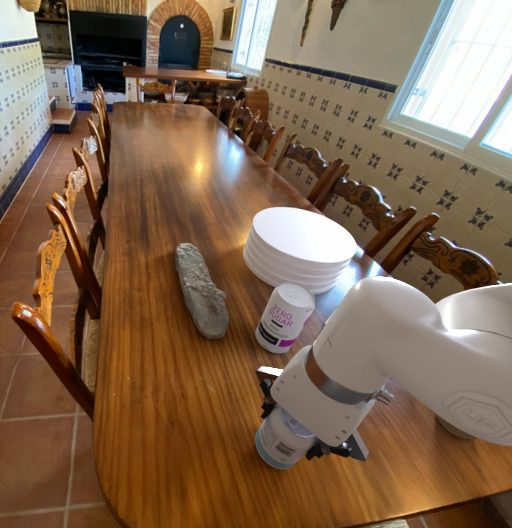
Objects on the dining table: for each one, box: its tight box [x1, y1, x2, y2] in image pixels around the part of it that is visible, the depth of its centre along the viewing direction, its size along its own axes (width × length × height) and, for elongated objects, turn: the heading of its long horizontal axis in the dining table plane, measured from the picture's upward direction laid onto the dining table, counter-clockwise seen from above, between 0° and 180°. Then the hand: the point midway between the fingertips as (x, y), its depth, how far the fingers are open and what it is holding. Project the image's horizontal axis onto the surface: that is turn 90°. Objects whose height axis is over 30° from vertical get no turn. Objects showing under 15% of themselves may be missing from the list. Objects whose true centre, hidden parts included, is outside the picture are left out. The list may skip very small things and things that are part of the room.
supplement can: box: [254, 282, 316, 354], centre depth 63 cm, size 8×8×15 cm
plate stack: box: [242, 206, 357, 296], centre depth 88 cm, size 28×28×12 cm
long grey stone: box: [174, 242, 230, 340], centre depth 78 cm, size 35×5×10 cm
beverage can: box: [254, 404, 319, 470], centre depth 47 cm, size 7×7×12 cm
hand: (288, 430), depth 46 cm, fingers closed on beverage can, 7 cm apart
